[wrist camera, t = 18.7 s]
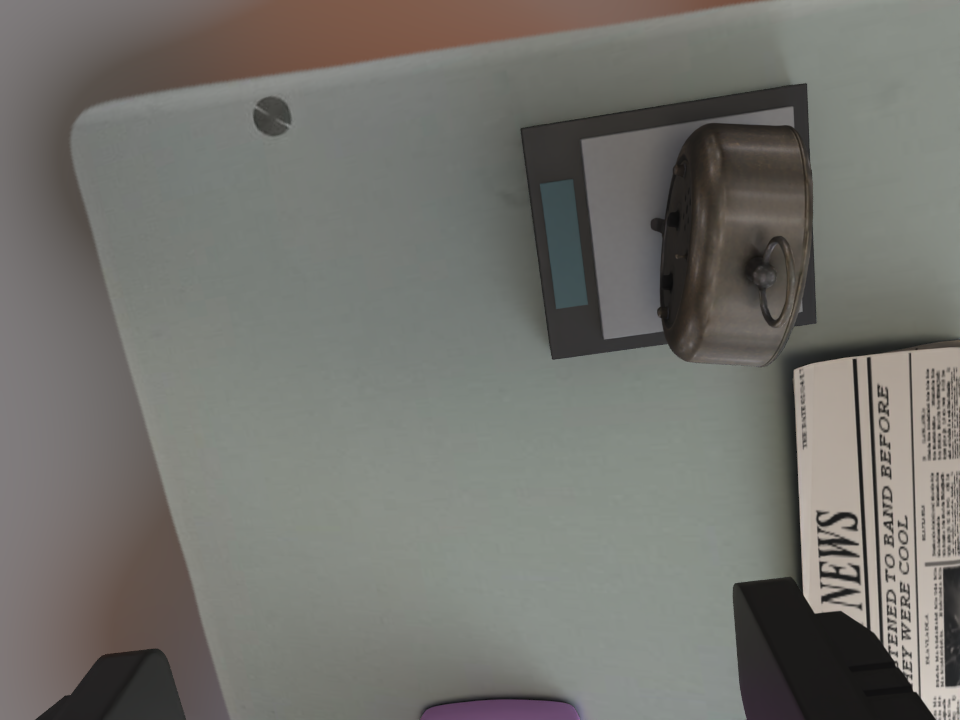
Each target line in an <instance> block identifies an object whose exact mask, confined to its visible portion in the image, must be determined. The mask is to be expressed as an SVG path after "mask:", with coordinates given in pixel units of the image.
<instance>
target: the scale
mask: <svg viewBox="0 0 960 720" xmlns="http://www.w3.org/2000/svg"><path fill="white" fill-rule="evenodd" d="M708 123H728V124H749V125H772V126H782V125H789V126H792V127H793V128H794V129H795V130H796V131H797V132H798V133H799V134H800V136H801V137H802V139H803V141H804V144H805V146H806V149H807V152H808V155H809V161H810V148H809V123H808V98H807V84H806V83H805V84H796V85H789V86H782V87H776V88H770V89H764V90H757V91H751V92H745V93H738V94H732V95H726V96H720V97H713V98H707V99H701V100H694V101H688V102H682V103H676V104H669V105H663V106H657V107H650V108H644V109H638V110H632V111H625V112H619V113H613V114H606V115H600V116H594V117H588V118H581V119H575V120H569V121H562V122H556V123H550V124H544V125H537V126H531V127H525V128H521V136H522V143H523V151H524V158H525V166H526V173H527V180H528V188H529V195H530V203H531V210H532V217H533V225H534V232H535V240H536V247H537V255H538V262H539V269H540V277H541V284H542V292H543V299H544V307H545V314H546V321H547V329H548V336H549V344H550V350H551V356H552V359H553V360H554V359H561V358H569V357H576V356H583V355H590V354H598V353H605V352H612V351H620V350H627V349H634V348H641V347H649V346H656V345H663V344H668V343H667V341H666V338H665V335H664V331H663V327H662V321H661V318H660V317H658V315H657V309H658V308H659V307H660V265H661V250H662V233H660V232H657V231H654V230H652V229H651V220H652V219H654V218H661V219H664V220H665V213H666V206H667V200H668V195H669V189H670V184H671V179H672V175H673V167H674V166H675V164H676V161H677V158H678V155H679V153H680V151H681V148H682V146H683V145H684V143H685V141H686V140H687V139H688V137H689V136H690V135H691V134H692V133H693V132H694V131H695V130H696V129H698V128H699V127H701V126H703V125H705V124H708ZM809 324H816V298H815V273H814V248H813V223H812V239H811V249H810V257H809V264H808V271H807V277H806V283H805V288H804V293H803V298H802V301H801V306H800V310H799V313H798V316H797V319H796V322H795V324H794V326H801V325H809Z"/></svg>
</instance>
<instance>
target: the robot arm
mask: <svg viewBox="0 0 960 720" xmlns="http://www.w3.org/2000/svg"><path fill="white" fill-rule="evenodd" d="M733 606H734V619H735V632H736V645H737V658H738V671H739V683H740V690H741V696H742V701H743V706H744V710H745V714H746V718H747V720H936V719H935V717H934V716H933V715H932V713H931V712H930V710H929V709H928V708H927V706H926V705H925V703H924V702H923V701H922V699H921V698H920V696H919V695H918V694H917V692H913V689H912V685H911V684H910V682H909V681H908V679H907V678H906V677H905V675H904V674H903V672H902V671H901V670H900V668H899V667H897V668H896V665H895V661H894V660H893V658H892V657H891V656H890V654H889V653H888V651H887V650H886V649H885V647H884V646H883V644H882V643H881V642H880V640H879V639H878V637H877V636H876V635H875V633H874V632H872V631H871V630H869V629H868V628H866V627H865V626H863V625H862V624H860V623H859V622H857V621H856V620H854V619H853V618H851V617H850V616H848V615H847V614H845V613H844V612H842V611H833V612H824V613H814V611H813V610H812V608H811V606H810V605H809V603H808V602H807V600H806V598H805V597H804V595H803V594H802V592H801V590H800V589H799V587H798V586H797V584H796V582H795V581H794V580H793V579H792V578H791V577H785V578H776V579H767V580H759V581H750V582H741V583H735V584H734V586H733ZM36 720H186V718H185V715H184V712H183V708H182V705H181V702H180V698H179V695H178V692H177V688H176V685H175V682H174V679H173V675H172V672H171V669H170V665H169V662H168V660H167V658H166V656H165V654H164V653H163V652H162V651H161V650H159V649H147V650H139V651H130V652H122V653H113V654H105V655H103V656H101V657H100V658H99V659H98V660H97V661H96V662H95V664H94V665H93V666H92V668H91V669H90V670H89V672H88V673H87V674H86V675H85V677H84V678H83V679H82V681H81V682H80V684H79V685H78V686H77V687H76V689H75V690H74V691H73V693H72V694H71V695H68V696H64V697H63V698H62V699H61V700H59V701H58V702H57V703H56V704H54V705H53V706H52V707H51V708H49V709H48V710H47V711H46V712H44V713H43V714H42V715H41V716H39V717H38V718H37V719H36Z"/></svg>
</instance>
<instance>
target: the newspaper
mask: <svg viewBox="0 0 960 720" xmlns="http://www.w3.org/2000/svg"><path fill="white" fill-rule="evenodd" d="M792 380H793V388H794V396H795V417H796V440H797V463H798V487H799V510H800V534H801V557H802V580H803V595H804V597H805V598H806V600H807V602H808V603H809V605H810V606H811V608H812V610H813V611H814V613H824V612H833V611H842V612H844V613H845V614H847V615H848V616H850V617H851V618H853V619H854V620H856V621H857V622H859V623H860V624H862V625H863V626H865V627H866V628H868V629H869V630H871V631H872V632H874V633H875V635H876V636H877V637H878V639H879V640H880V642H881V643H882V644H883V646H884V647H885V649H886V650H887V651H888V653H889V654H890V656H891V657H892V658H893V660H894V661H895V665H896V668H897V667H899V668H900V670H901V671H902V672H903V674H904V675H905V677H906V678H907V679H908V681H909V682H910V684H911V685H912V689H913V692H917V694H918V695H919V696H920V698H921V699H922V701H923V702H924V703H925V705H926V706H927V708H928V709H929V710H930V712H931V713H932V715H933V716H934V717H935V719H936V720H960V340H953V341H943V342H935V343H930V344H925V345H920V346H915V347H910V348H905V349H900V350H895V351H889V352H884V353H880V354H873V355H864V356H855V357H846V358H840V359H834V360H828V361H822V362H816V363H812V364H809V365H805V366H802V367H799V368H797V369H795V370H794V378H793V379H792Z"/></svg>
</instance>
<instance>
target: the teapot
mask: <svg viewBox="0 0 960 720" xmlns="http://www.w3.org/2000/svg"><path fill="white" fill-rule="evenodd" d="M420 720H580V718H579V715H578V713H577V711H576V710H575V708H574V707H573V706H572V705H570V704H567V703H562V702H554V701H540V700H515V699H498V700H482V701H471V702H462V703H453V704H446V705H439V706H435V707H431V708H429V709H427V710H426V711H425V712H424V714H423V715H422V717H421V719H420Z"/></svg>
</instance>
